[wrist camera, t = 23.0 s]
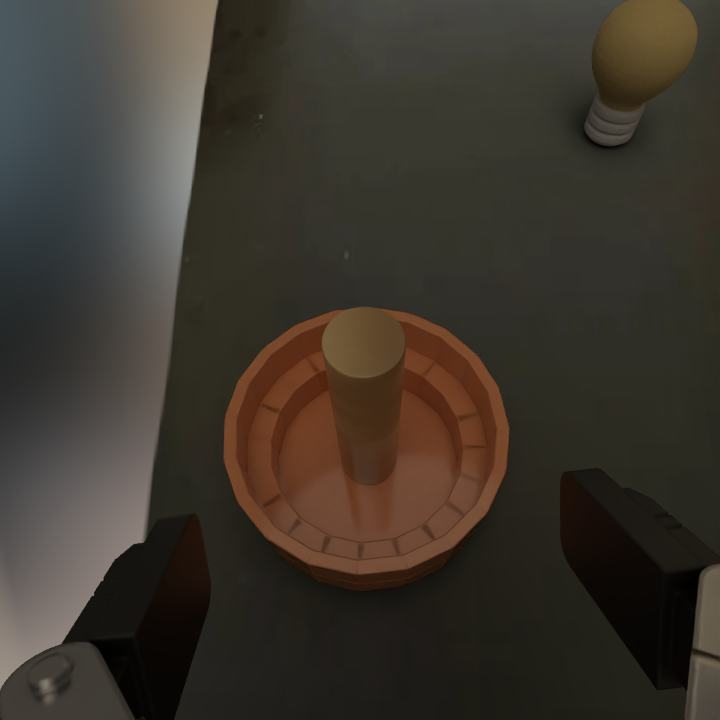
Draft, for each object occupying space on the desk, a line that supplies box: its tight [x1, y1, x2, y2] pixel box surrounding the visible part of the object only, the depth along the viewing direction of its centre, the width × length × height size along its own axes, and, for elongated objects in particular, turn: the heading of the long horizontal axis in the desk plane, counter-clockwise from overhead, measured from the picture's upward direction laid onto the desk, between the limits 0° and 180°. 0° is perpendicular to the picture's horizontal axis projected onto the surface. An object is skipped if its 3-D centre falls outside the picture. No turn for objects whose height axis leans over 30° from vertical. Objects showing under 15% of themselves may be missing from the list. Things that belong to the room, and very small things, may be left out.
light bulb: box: [584, 0, 697, 146], centre depth 39 cm, size 6×6×10 cm
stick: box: [322, 307, 406, 485], centre depth 24 cm, size 3×3×12 cm
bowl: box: [224, 308, 510, 591], centre depth 27 cm, size 13×13×6 cm
